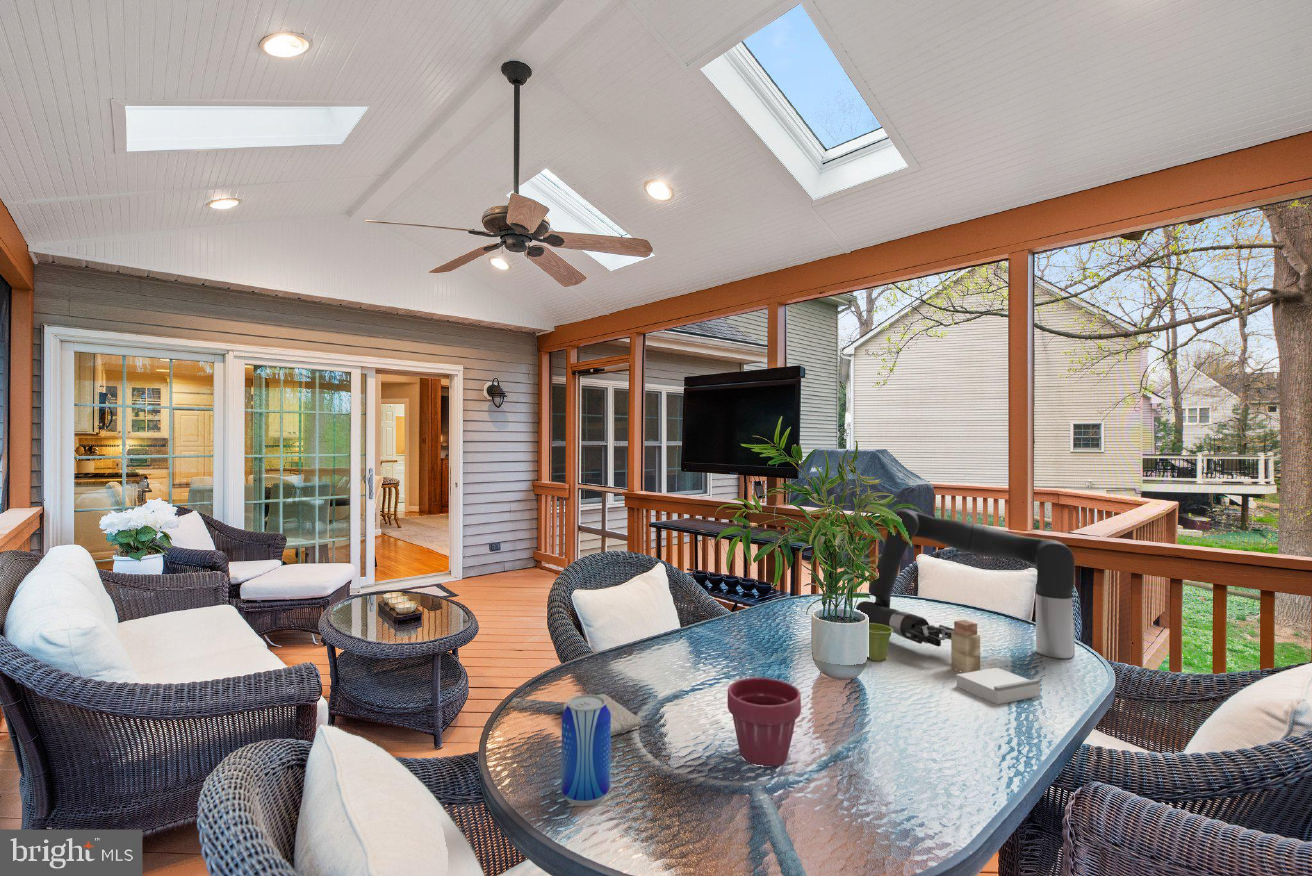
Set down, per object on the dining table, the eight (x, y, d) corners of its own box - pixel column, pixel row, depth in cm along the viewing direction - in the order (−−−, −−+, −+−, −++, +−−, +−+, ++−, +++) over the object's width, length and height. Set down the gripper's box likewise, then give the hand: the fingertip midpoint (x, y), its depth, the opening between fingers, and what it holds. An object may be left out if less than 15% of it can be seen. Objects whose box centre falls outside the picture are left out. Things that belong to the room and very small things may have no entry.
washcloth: (603, 702, 149) (603, 689, 149) (645, 730, 134) (645, 716, 134) (557, 714, 142) (557, 700, 142) (596, 745, 127) (596, 730, 127)
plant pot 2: (887, 653, 185) (887, 623, 185) (896, 663, 176) (896, 632, 176) (855, 652, 186) (855, 622, 186) (862, 662, 177) (862, 631, 177)
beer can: (562, 783, 112) (563, 693, 112) (609, 781, 112) (610, 691, 113) (559, 810, 103) (560, 712, 104) (610, 808, 104) (611, 711, 104)
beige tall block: (965, 666, 174) (964, 619, 174) (980, 672, 169) (980, 623, 170) (951, 668, 172) (951, 620, 173) (966, 674, 168) (966, 625, 168)
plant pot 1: (785, 783, 112) (785, 711, 113) (714, 762, 120) (715, 694, 120) (810, 750, 124) (810, 685, 125) (745, 733, 132) (745, 672, 132)
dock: (996, 679, 164) (996, 664, 164) (1039, 696, 153) (1039, 680, 153) (956, 686, 159) (956, 671, 159) (997, 704, 148) (997, 688, 148)
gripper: (890, 615, 188) (932, 630, 173) (926, 611, 193) (970, 625, 178) (890, 641, 188) (932, 657, 173) (927, 636, 193) (970, 651, 178)
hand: (951, 641), depth 175 cm, fingers open, 8 cm apart
